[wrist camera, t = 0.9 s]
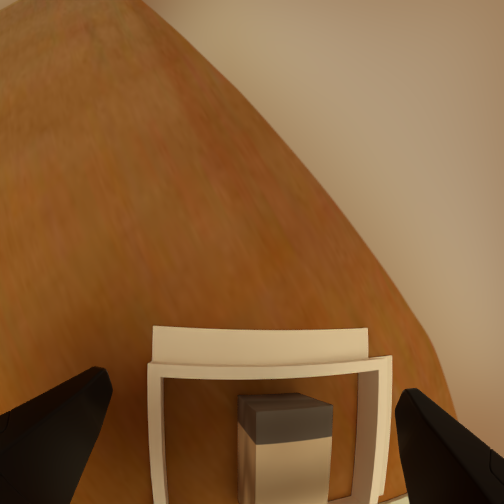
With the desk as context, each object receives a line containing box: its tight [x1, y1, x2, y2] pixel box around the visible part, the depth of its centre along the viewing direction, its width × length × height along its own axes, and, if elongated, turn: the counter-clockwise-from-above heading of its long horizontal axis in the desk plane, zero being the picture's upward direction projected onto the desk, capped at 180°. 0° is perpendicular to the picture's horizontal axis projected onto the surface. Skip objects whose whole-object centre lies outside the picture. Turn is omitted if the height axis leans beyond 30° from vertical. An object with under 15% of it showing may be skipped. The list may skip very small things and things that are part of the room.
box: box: [238, 393, 333, 504], centre depth 17 cm, size 9×4×6 cm, turn 0°
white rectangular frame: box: [147, 326, 392, 504], centre depth 19 cm, size 16×19×3 cm
